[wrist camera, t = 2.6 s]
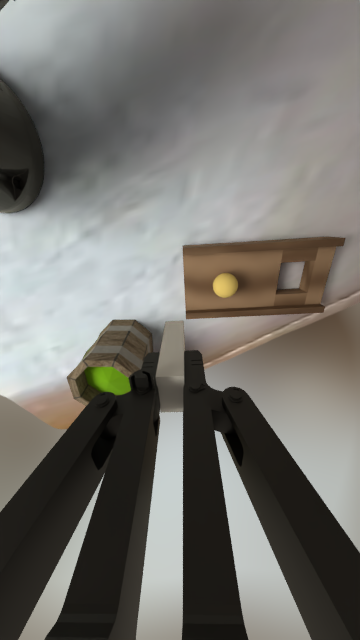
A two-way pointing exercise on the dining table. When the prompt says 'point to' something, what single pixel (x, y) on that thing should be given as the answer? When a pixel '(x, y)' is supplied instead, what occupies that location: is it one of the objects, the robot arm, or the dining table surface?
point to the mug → (111, 361)
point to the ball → (225, 285)
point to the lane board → (256, 276)
